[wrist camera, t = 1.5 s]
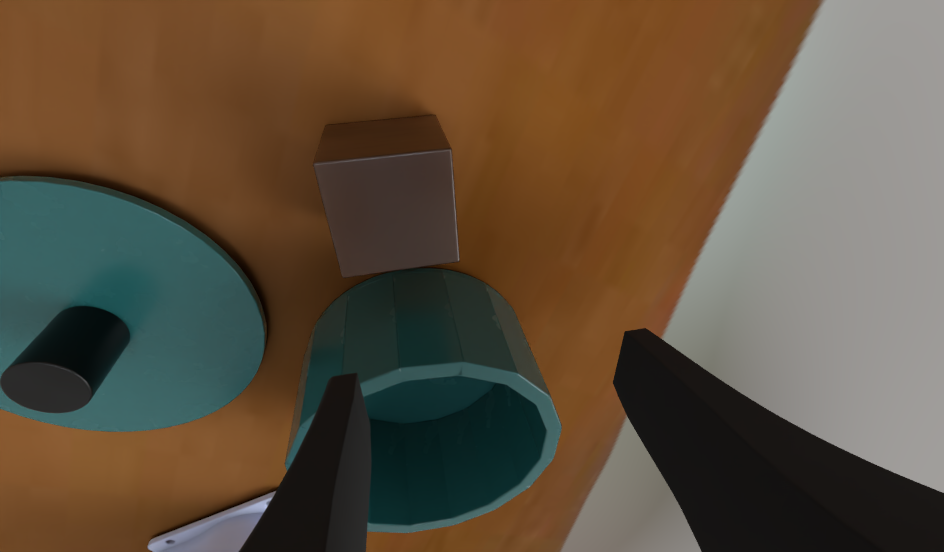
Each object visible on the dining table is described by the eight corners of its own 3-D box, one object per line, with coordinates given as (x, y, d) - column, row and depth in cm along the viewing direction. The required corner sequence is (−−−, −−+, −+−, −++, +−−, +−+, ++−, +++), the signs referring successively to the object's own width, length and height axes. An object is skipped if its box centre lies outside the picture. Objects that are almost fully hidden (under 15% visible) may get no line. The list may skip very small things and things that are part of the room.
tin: (370, 447, 27) (370, 557, 22) (259, 322, 21) (221, 438, 15) (540, 381, 27) (581, 477, 22) (483, 232, 20) (522, 319, 15)
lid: (96, 445, 23) (46, 529, 19) (-208, 253, 15) (-379, 333, 12) (322, 355, 22) (313, 424, 19) (122, 111, 15) (46, 151, 11)
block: (347, 224, 19) (342, 279, 15) (324, 124, 16) (311, 162, 13) (444, 212, 19) (460, 262, 16) (435, 114, 17) (452, 148, 13)
